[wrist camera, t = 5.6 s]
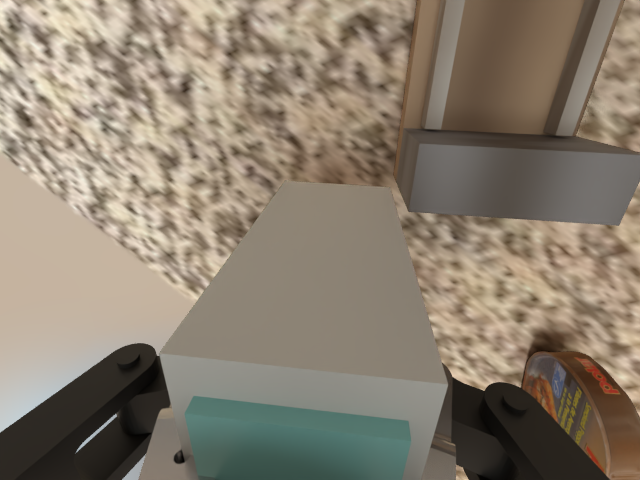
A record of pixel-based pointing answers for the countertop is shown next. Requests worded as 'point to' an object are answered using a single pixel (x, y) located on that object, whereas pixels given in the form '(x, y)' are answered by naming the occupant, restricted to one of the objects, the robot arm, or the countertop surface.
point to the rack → (509, 113)
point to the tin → (588, 409)
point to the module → (310, 347)
